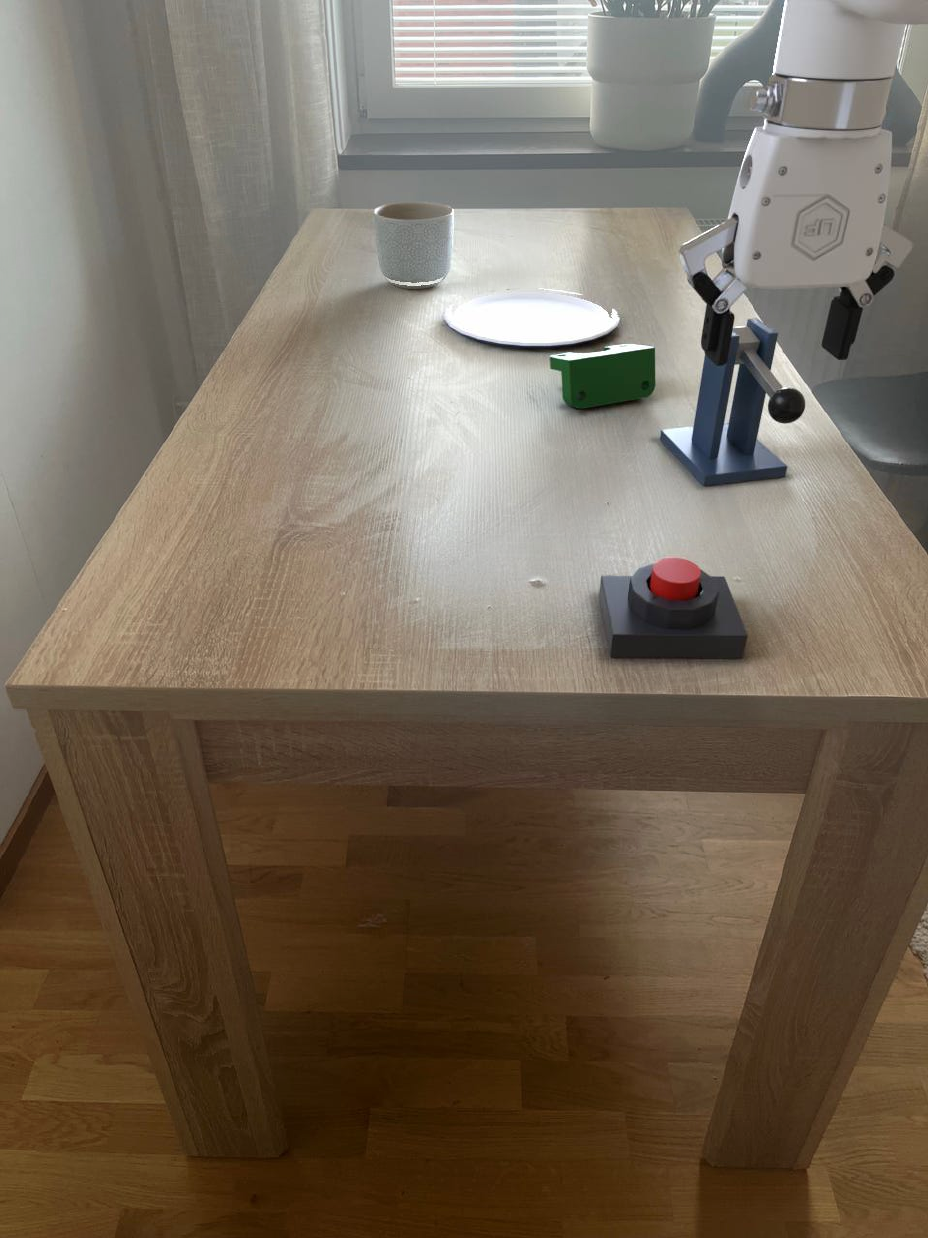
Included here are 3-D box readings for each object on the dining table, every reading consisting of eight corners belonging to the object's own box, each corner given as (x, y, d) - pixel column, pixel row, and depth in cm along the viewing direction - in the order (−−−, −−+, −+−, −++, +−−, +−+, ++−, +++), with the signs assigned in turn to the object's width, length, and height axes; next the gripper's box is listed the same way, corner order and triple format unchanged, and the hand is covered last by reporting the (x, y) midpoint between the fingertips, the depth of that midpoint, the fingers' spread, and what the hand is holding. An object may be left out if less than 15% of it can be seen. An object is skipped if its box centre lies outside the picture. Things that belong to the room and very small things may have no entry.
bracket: (785, 476, 93) (816, 342, 85) (703, 486, 92) (726, 350, 84) (735, 431, 102) (759, 306, 94) (659, 439, 100) (676, 312, 92)
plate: (409, 316, 134) (409, 307, 133) (539, 285, 146) (539, 277, 145) (520, 367, 118) (521, 357, 117) (656, 327, 130) (657, 318, 129)
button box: (720, 598, 76) (728, 557, 74) (742, 658, 69) (752, 615, 67) (598, 597, 76) (603, 556, 74) (609, 657, 69) (614, 614, 67)
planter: (365, 277, 149) (361, 205, 143) (435, 268, 154) (434, 198, 147) (393, 299, 140) (390, 223, 134) (467, 288, 145) (467, 214, 138)
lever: (804, 428, 84) (816, 399, 81) (772, 432, 83) (783, 402, 81) (744, 350, 92) (754, 321, 90) (715, 353, 92) (723, 324, 89)
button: (692, 576, 72) (696, 557, 71) (701, 602, 69) (705, 583, 68) (646, 576, 72) (649, 556, 71) (653, 602, 69) (656, 583, 68)
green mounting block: (616, 420, 115) (639, 347, 113) (641, 427, 110) (667, 351, 107) (533, 395, 110) (557, 318, 107) (556, 401, 104) (581, 320, 102)
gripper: (720, 116, 58) (682, 380, 68) (979, 112, 59) (904, 369, 69) (682, 100, 64) (652, 345, 74) (918, 96, 65) (857, 335, 75)
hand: (774, 356), depth 72 cm, fingers open, 9 cm apart
